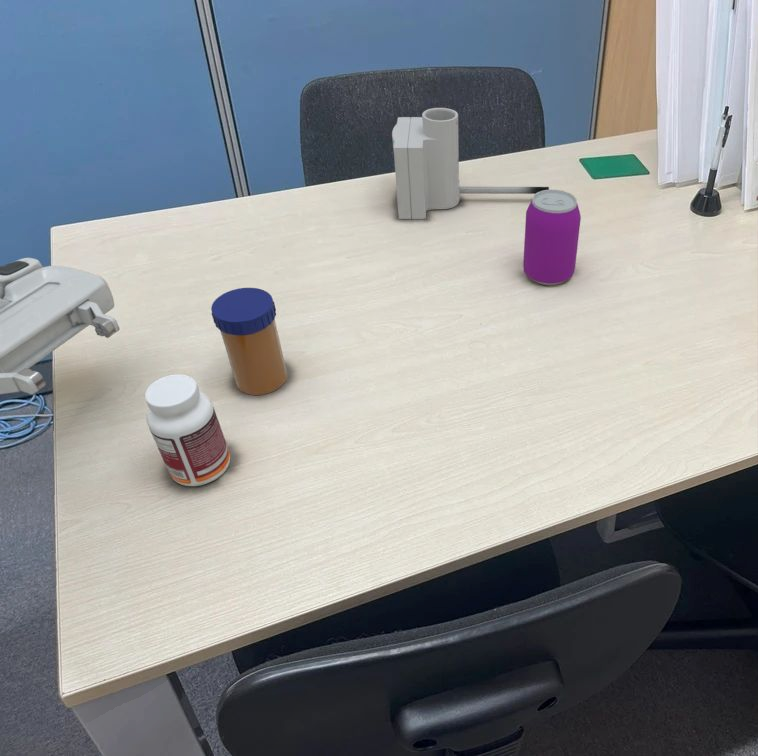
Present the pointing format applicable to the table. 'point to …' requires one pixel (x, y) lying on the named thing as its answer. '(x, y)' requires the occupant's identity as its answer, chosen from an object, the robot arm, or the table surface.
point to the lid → (243, 311)
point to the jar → (256, 360)
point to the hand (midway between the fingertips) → (77, 354)
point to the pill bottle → (186, 430)
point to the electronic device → (433, 165)
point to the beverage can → (551, 237)
